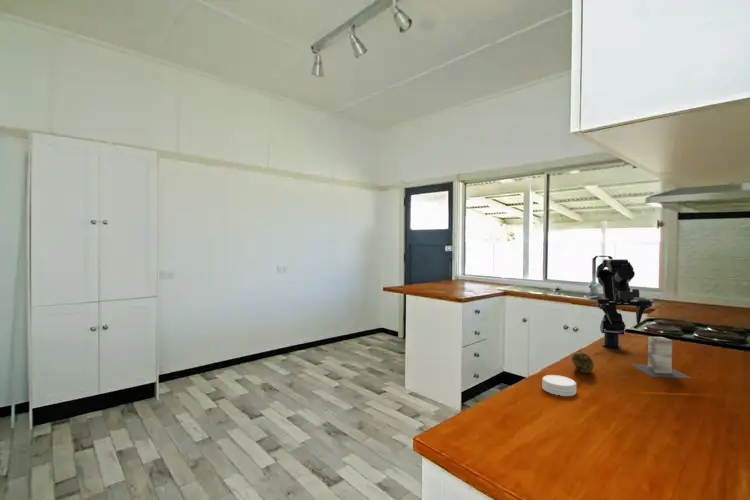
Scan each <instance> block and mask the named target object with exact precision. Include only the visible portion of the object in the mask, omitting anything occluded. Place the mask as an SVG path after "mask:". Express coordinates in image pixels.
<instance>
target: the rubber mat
mask: <svg viewBox="0 0 750 500" xmlns="http://www.w3.org/2000/svg"><path fill="white" fill-rule="evenodd" d="M630 365H631V366H632V367H634V368H636V369H637V370H639V371H641V372H643V373H645V374H646V375H648V376H650V377H651V378H673V379H674V378H678V379H680V378H681V379H692V377H691V376H688V375H686V374H685V373H682V372H680V371H679V370H676V369H675V368H674V367H673V368H672V373H656V372H654V371H652V370H650V369H649V368H648V364H638V363H637V364H636V363H630Z"/></svg>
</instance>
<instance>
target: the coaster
mask: <svg viewBox="0 0 750 500" xmlns="http://www.w3.org/2000/svg"><path fill="white" fill-rule="evenodd" d="M541 380H542V382H541V383H542V384H541V385H542V386H541V387H542V389H543V391H545V392H547V393H548V392H549V394H551V395H554V394H555V395H554V396H558V395H560V396H559V397H572V396H575V395H576V394H577V382H576V381H575V380H573V379H572V378H569V377H567V376H564V375H563V376H562V375H559V374H558V375H557V374H548V375H544V376H543V377H542V378H541Z"/></svg>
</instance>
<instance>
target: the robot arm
mask: <svg viewBox="0 0 750 500" xmlns="http://www.w3.org/2000/svg"><path fill="white" fill-rule="evenodd" d="M630 262H631V261H629V260H628V259H626V258H625V259H623V258H619V259H618V258H605V259H602V263H600V264H599V265H597V267H596V271H595V277H596V279H597V282H598V284H599V285H600V286H601V287H602V292H603V297H597V299H596V300H595V307H596V308H599V310H602V311H603V313H604V315H603V317H602V319H601V322H600V326H599V331H600V332H601V334H604V336H603V339H604V341H603V344H602V345H601V346H602V347H605V348H611V349H618V350H619V349H620V348H621V344H620V335H621V336H624V335H625V329H626V324H625V321H624V320H623V315H622V314H621V313H620V312H618V310H617V306H620V307H636V309H635V319H636V326H640V324H641V319H642V316H643V314H644V312H646V311H647V310H649V309H651V308H652V307H653V303H652V301H651V299H640V296H641V295H640V290H639V289H638V288H635V289H632V290H631V288H630V282H631V281H632V280H633V279H634V277H635V274H636V272H635V271H634V266H632V264H631V263H630ZM635 298H639V299H638V300H637V301H634V300H635Z"/></svg>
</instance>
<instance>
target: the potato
mask: <svg viewBox="0 0 750 500" xmlns="http://www.w3.org/2000/svg"><path fill="white" fill-rule="evenodd" d="M571 362H572V364H573V366H574V367H575V369H576V370H578V371H580V372H582V373H585V374H589V373H592V371H593V370H594V367H595V365H594V361H593V359H592V358H591V356H590V355H589V354H588V353H585V352H581V351H580V352H579V351H578V352H575V353H574V354H572V355H571Z"/></svg>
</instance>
